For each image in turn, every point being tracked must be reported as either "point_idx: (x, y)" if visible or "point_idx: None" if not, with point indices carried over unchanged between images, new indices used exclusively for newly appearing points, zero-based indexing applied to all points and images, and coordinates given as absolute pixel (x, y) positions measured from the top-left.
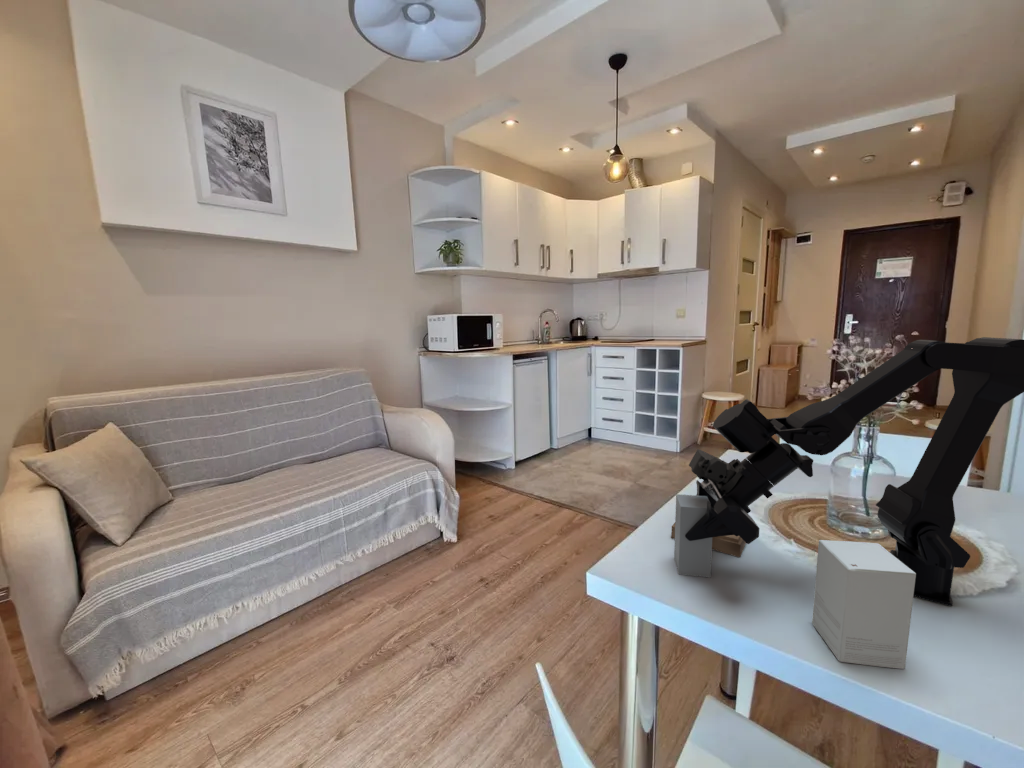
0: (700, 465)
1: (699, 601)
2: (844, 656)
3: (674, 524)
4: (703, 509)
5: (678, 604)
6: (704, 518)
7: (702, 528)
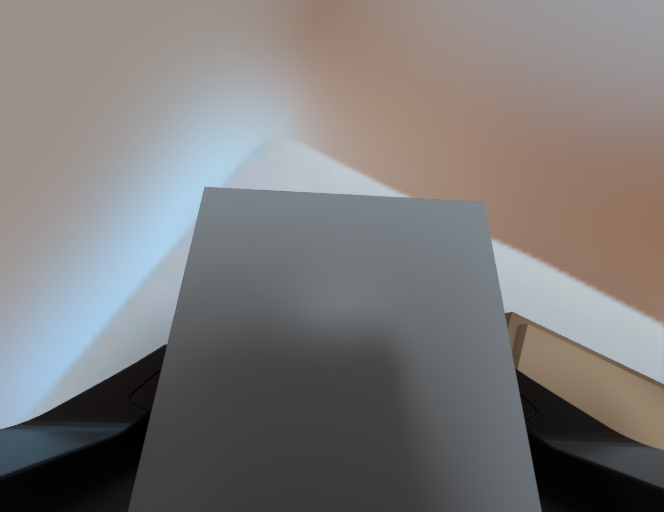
0: None
1: (168, 331)
2: None
3: (531, 325)
4: (158, 409)
5: (160, 277)
6: (115, 389)
7: None
